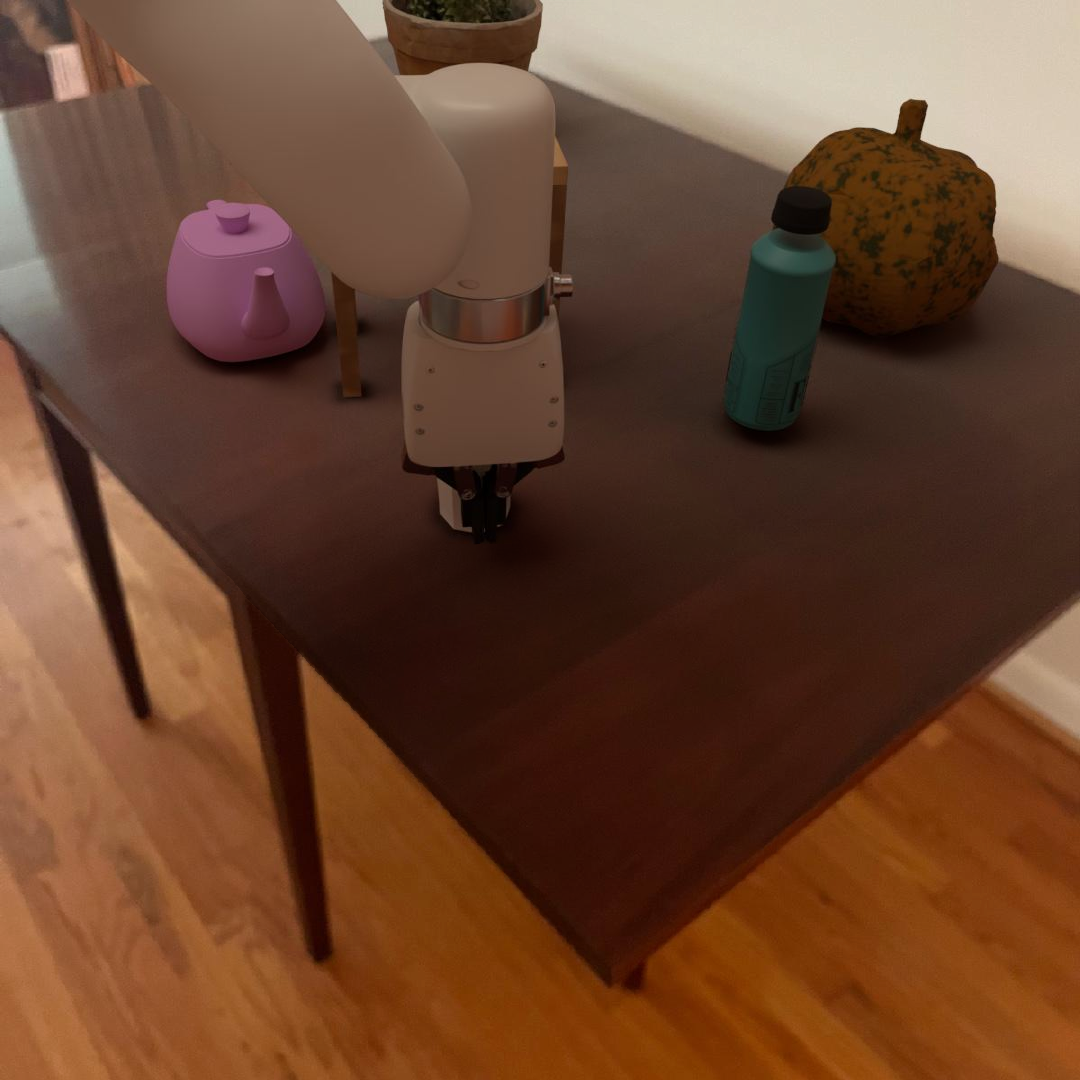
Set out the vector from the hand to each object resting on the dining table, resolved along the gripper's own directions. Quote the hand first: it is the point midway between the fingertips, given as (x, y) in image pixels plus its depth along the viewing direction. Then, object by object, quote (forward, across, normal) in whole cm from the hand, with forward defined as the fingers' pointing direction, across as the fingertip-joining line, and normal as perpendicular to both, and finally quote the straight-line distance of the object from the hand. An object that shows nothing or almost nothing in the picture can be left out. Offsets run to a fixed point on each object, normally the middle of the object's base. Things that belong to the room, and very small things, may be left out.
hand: (483, 529), depth 73 cm
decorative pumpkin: (+3, -41, -32) cm, 52 cm away
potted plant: (+3, -6, -76) cm, 76 cm away
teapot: (+2, +18, -30) cm, 35 cm away
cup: (+2, 0, -4) cm, 5 cm away
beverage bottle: (+2, -24, -13) cm, 28 cm away
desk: (+2, +1, -26) cm, 26 cm away
